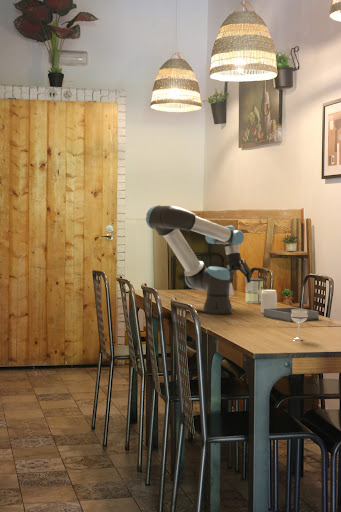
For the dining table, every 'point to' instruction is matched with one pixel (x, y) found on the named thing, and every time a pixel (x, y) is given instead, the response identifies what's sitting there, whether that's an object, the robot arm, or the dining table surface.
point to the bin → (288, 314)
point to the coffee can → (254, 291)
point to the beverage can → (268, 299)
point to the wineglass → (299, 317)
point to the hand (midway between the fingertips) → (240, 292)
